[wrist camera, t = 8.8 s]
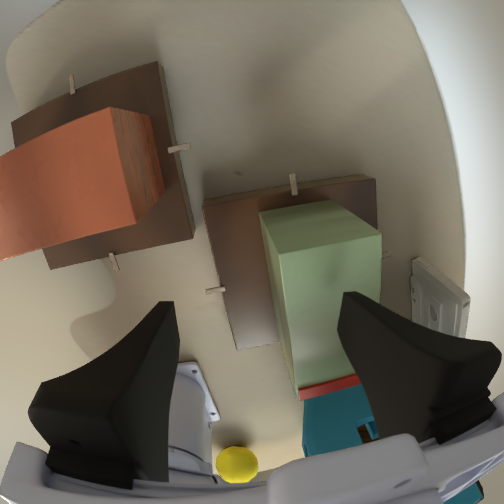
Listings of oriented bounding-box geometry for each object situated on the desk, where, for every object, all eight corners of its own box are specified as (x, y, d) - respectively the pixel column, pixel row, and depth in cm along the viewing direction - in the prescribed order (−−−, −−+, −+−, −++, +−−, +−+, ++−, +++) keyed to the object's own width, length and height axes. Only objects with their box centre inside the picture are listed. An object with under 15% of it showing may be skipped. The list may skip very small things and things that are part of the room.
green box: (258, 211, 19) (279, 256, 12) (331, 199, 19) (385, 235, 13) (277, 333, 23) (297, 403, 16) (337, 320, 23) (372, 382, 17)
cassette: (423, 342, 29) (458, 385, 22) (410, 349, 29) (443, 395, 22) (422, 252, 24) (475, 292, 17) (406, 260, 24) (458, 303, 17)
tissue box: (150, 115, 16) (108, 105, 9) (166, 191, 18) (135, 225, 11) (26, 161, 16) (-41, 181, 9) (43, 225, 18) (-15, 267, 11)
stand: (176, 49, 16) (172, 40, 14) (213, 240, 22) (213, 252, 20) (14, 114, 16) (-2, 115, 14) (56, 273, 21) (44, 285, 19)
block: (395, 348, 28) (487, 494, 10) (387, 378, 30) (460, 513, 12) (288, 373, 28) (341, 564, 9) (289, 402, 30) (332, 567, 11)
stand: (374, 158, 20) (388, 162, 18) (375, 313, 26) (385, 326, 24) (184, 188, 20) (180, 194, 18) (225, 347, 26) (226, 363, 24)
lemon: (208, 440, 32) (209, 475, 27) (250, 434, 32) (254, 469, 27) (223, 462, 34) (225, 493, 29) (260, 456, 34) (265, 487, 29)
